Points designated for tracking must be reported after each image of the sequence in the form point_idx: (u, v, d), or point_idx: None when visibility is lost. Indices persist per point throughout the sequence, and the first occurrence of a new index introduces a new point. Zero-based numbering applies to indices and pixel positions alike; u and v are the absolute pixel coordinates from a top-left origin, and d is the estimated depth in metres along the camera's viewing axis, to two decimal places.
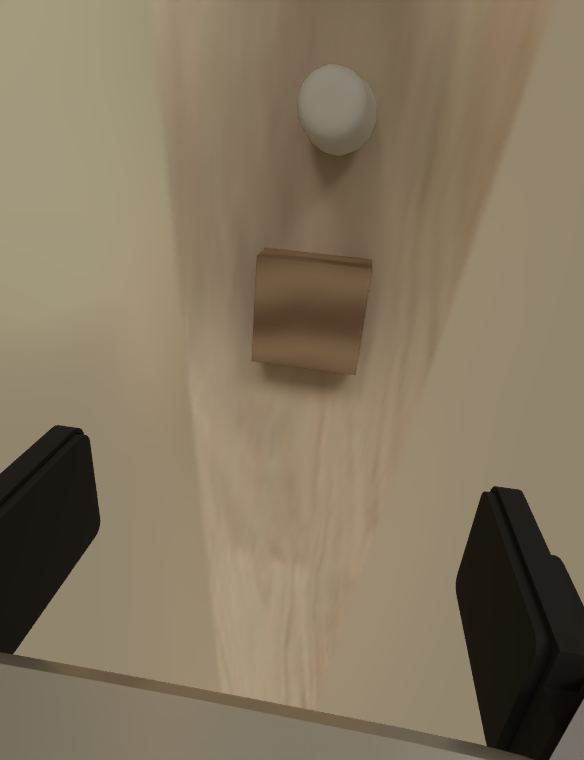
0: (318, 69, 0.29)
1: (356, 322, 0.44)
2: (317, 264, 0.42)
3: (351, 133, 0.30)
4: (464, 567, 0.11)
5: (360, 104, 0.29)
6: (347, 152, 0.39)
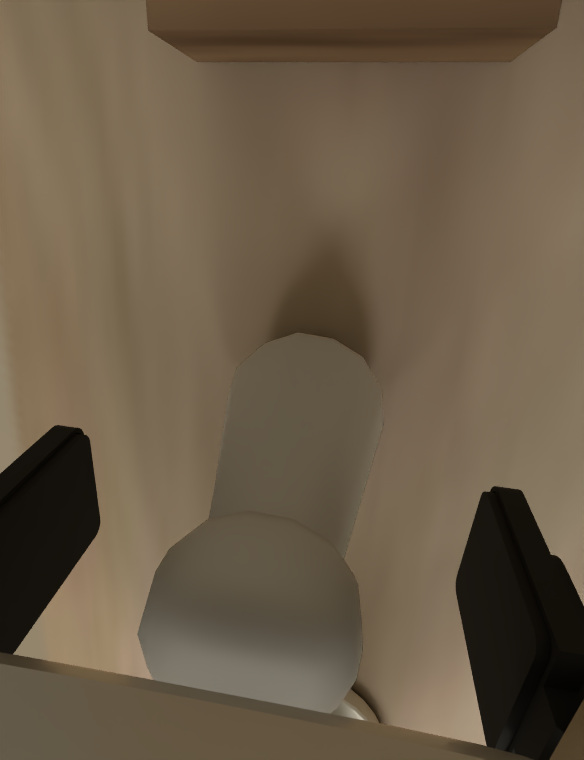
0: None
1: None
2: (329, 24, 0.12)
3: (167, 580, 0.09)
4: (464, 567, 0.11)
5: (148, 659, 0.09)
6: (277, 346, 0.17)
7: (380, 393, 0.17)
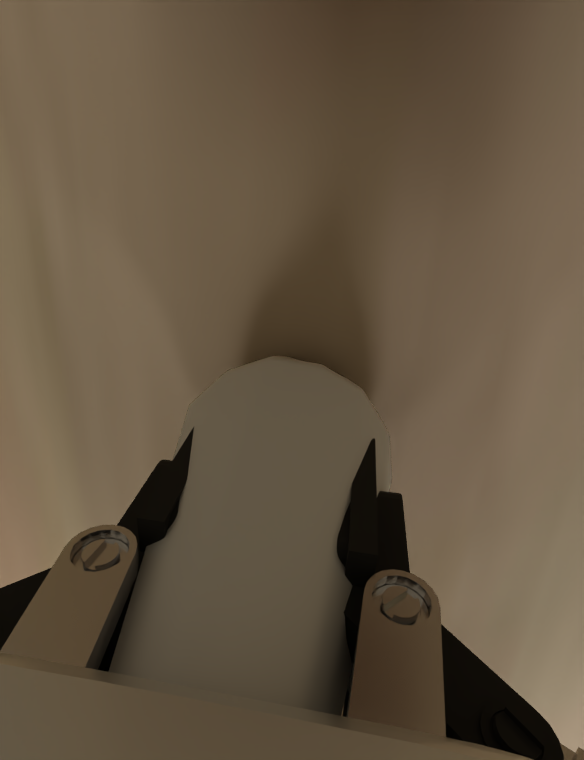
0: None
1: None
2: None
3: None
4: None
5: None
6: (241, 378, 0.12)
7: (387, 440, 0.12)
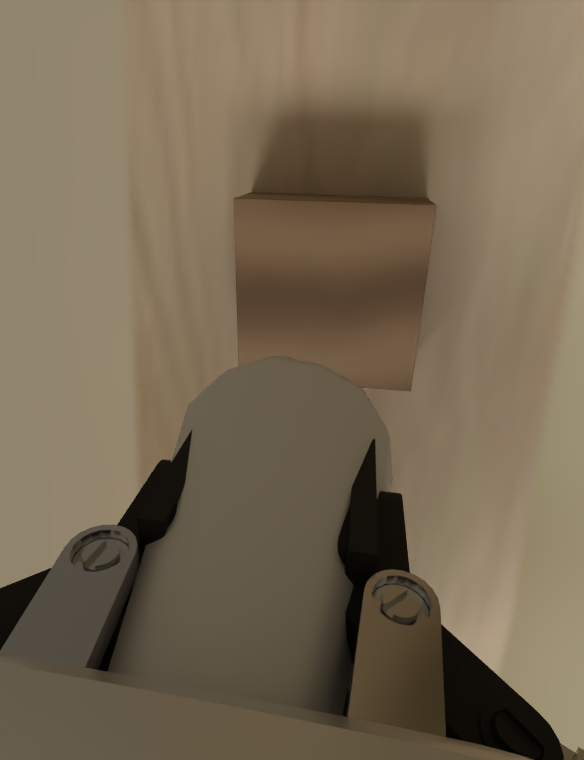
0: None
1: (248, 298, 0.27)
2: None
3: None
4: None
5: None
6: (241, 378, 0.12)
7: (387, 441, 0.12)
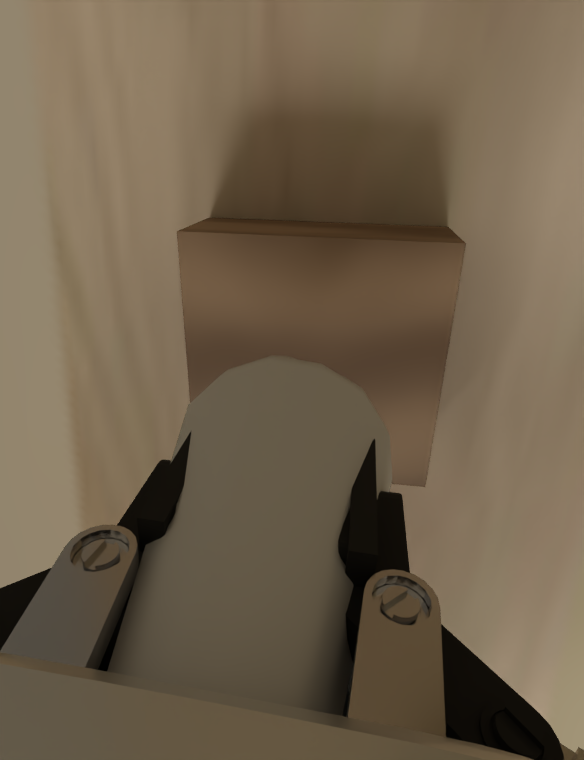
0: None
1: (202, 365, 0.20)
2: None
3: None
4: None
5: None
6: (240, 378, 0.12)
7: (387, 440, 0.12)
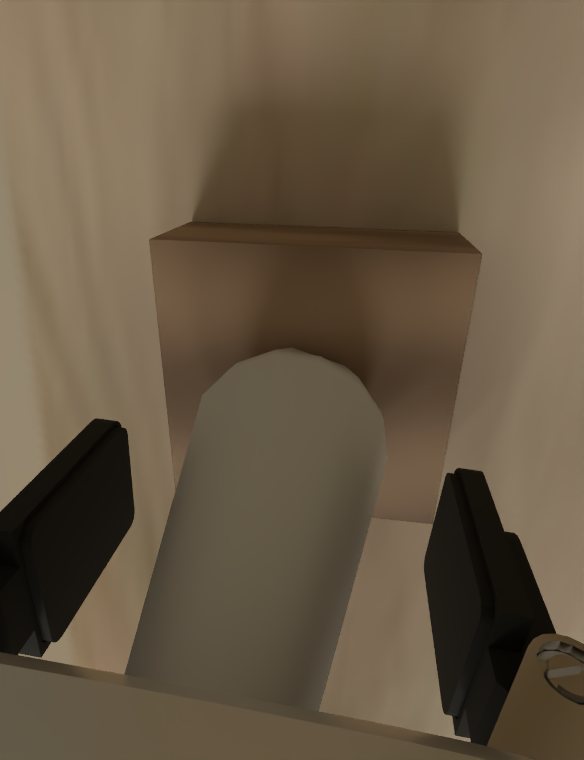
0: None
1: (182, 389, 0.17)
2: None
3: None
4: (431, 546, 0.12)
5: None
6: (247, 371, 0.13)
7: (381, 424, 0.14)
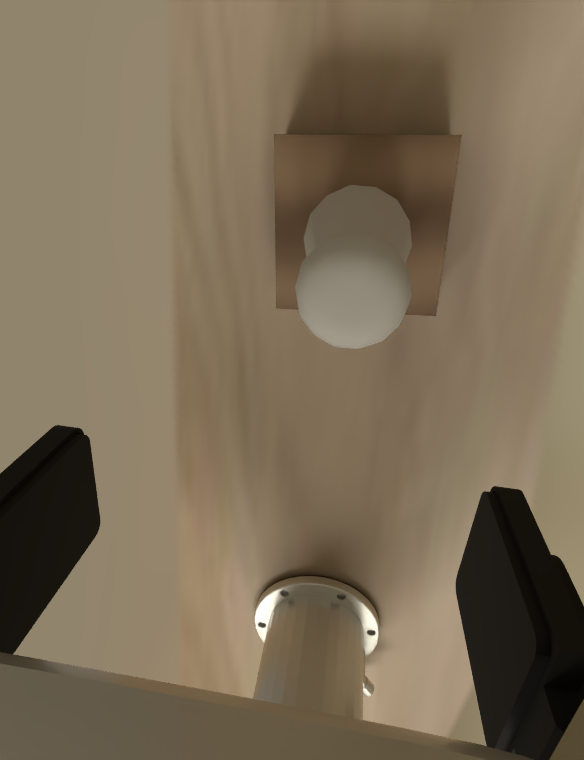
0: (376, 342, 0.18)
1: (285, 231, 0.29)
2: None
3: (312, 255, 0.17)
4: (464, 567, 0.11)
5: (303, 301, 0.18)
6: (338, 192, 0.25)
7: (408, 222, 0.25)
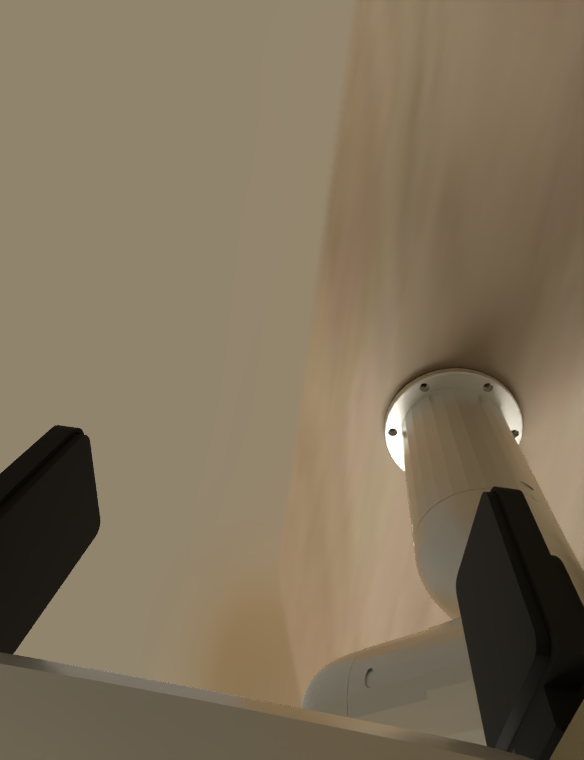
0: None
1: None
2: None
3: None
4: (464, 567, 0.11)
5: None
6: None
7: None
